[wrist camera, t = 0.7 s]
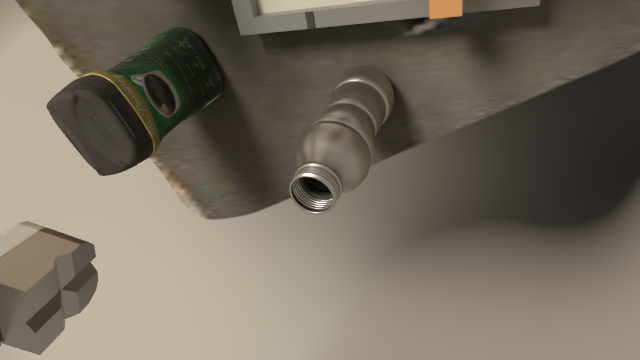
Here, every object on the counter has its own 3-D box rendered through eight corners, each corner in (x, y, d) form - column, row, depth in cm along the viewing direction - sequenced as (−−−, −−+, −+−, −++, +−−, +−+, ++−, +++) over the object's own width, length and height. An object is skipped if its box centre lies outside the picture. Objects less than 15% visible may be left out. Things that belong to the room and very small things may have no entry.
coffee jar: (147, 40, 53) (21, 104, 38) (193, 17, 49) (72, 77, 35) (189, 109, 57) (90, 190, 42) (235, 92, 53) (142, 174, 39)
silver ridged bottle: (362, 47, 45) (297, 140, 29) (410, 88, 46) (372, 199, 30) (328, 90, 49) (255, 191, 34) (373, 126, 50) (323, 241, 34)
